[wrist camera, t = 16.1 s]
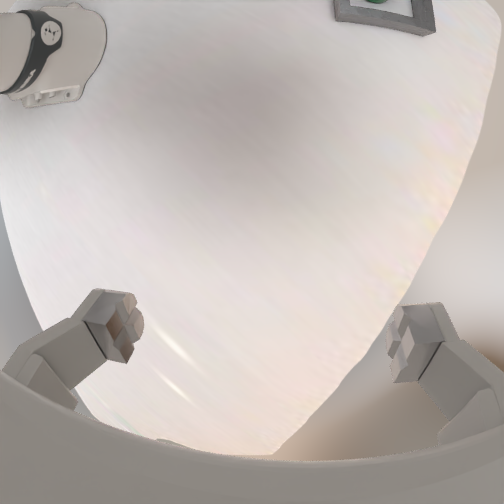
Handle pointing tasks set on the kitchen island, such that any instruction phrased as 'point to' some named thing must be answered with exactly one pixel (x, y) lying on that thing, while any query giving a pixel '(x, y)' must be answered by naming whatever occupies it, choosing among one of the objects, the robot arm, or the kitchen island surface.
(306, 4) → the kitchen island surface
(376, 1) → the soda can
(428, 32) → the square frame with handle
